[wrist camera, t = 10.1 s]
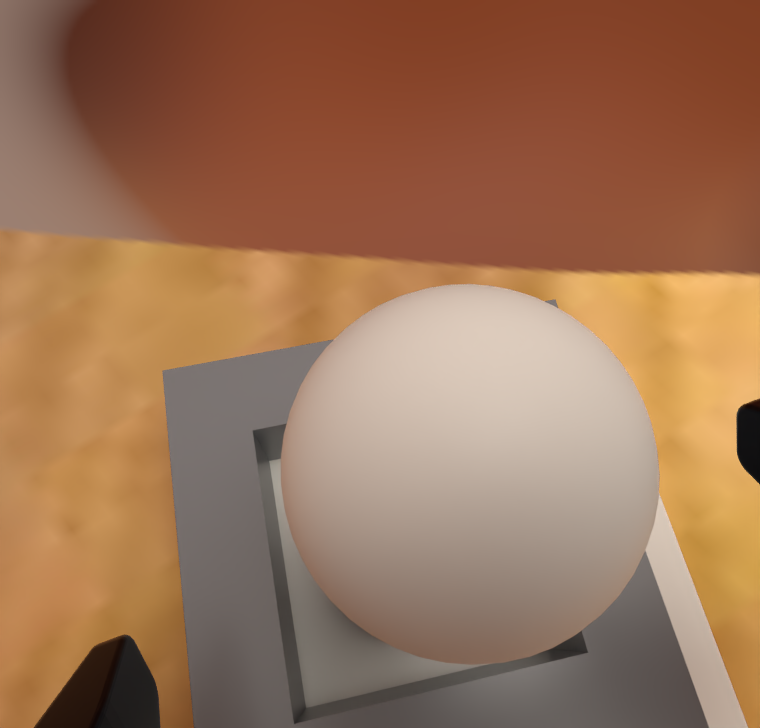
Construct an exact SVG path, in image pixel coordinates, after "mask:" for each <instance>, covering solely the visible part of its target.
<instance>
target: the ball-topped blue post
mask: <svg viewBox="0 0 760 728" xmlns="http://www.w3.org/2000/svg"><path fill="white" fill-rule="evenodd" d="M659 475H660V474H659V464H658V454H657V447H656V442H655V437H654V433H653V429H652V424H651V421H650V418H649V415H648V413H647V410H646V407H645V404H644V402H643V400H642V398H641V396H640V394H639V392H638V390H637V388H636V386H635V384H634V382H633V380H632V379H631V377H630V376H629V374H628V373H627V371H626V370H625V368H624V367H623V365H622V364H621V362H620V361H619V360H618V359H617V357H616V356H615V355H614V354H613V353H612V351H611V350H610V349H609V348H608V347H607V346H606V344H604V343H603V342H602V341H601V340H600V339H599V338H598V337H597V336H596V335H595V334H594V333H593V332H592V331H591V330H589V329H588V328H587V327H585V326H584V325H583V324H581V323H580V322H579V321H577V320H576V319H575V318H573V317H572V316H570V315H569V314H567V313H565V312H564V311H562V310H560V309H558V308H557V307H555V306H553V305H551V304H549V303H547V302H544V301H542V300H540V299H538V298H535V297H533V296H530V295H527V294H524V293H520V292H517V291H514V290H510V289H505V288H500V287H495V286H487V285H474V284H461V285H446V286H439V287H433V288H427V289H423V290H420V291H416V292H412V293H409V294H405V295H402V296H400V297H397V298H395V299H392V300H390V301H388V302H385V303H383V304H381V305H379V306H378V307H376V308H374V309H372V310H371V311H369V312H367V313H366V314H364V315H363V316H361V317H360V318H359V319H357V320H356V321H355V322H353V323H352V324H351V325H349V326H348V327H347V328H346V329H345V330H343V331H342V332H341V333H340V334H339V335H338V336H337V337H336V338H335V339H334V340H333V341H332V342H331V343H330V344H329V345H328V346H327V347H326V348H325V350H324V351H323V352H322V353H321V355H320V356H319V357H318V359H317V360H316V361H315V362H314V364H313V365H312V367H311V368H310V370H309V372H308V374H307V375H306V377H305V379H304V380H303V382H302V384H301V386H300V388H299V391H298V393H297V395H296V398H295V400H294V403H293V405H292V408H291V410H290V413H289V417H288V421H287V424H286V428H285V432H284V437H283V444H282V452H281V487H282V494H283V502H284V508H285V513H286V516H287V520H288V524H289V527H290V531H291V534H292V537H293V539H294V542H295V544H296V547H297V549H298V551H299V554H300V556H301V558H302V560H303V562H304V563H305V565H306V567H307V568H308V570H309V572H310V574H311V575H312V577H313V579H314V580H315V582H316V583H317V584H318V585H319V587H320V588H321V589H322V590H323V592H324V593H325V594H326V596H327V597H328V598H329V599H330V601H331V602H332V603H333V604H334V605H335V606H336V607H337V608H339V609H340V610H341V611H342V612H343V613H344V614H345V615H346V616H347V617H348V618H349V619H350V620H351V621H353V622H354V623H355V624H357V625H358V626H359V627H361V628H362V629H364V630H365V631H366V632H368V633H369V634H370V635H372V636H374V637H376V638H377V639H379V640H381V641H383V642H385V643H387V644H389V645H390V646H392V647H394V648H396V649H399V650H402V651H404V652H407V653H410V654H412V655H415V656H418V657H421V658H426V659H430V660H435V661H439V662H444V663H453V664H467V665H478V664H492V663H504V662H509V661H513V660H518V659H522V658H527V657H530V656H533V655H536V654H538V653H541V652H543V651H546V650H548V649H551V648H554V647H555V646H557V645H559V644H561V643H562V642H564V641H566V640H568V639H569V638H571V637H573V636H575V635H576V634H578V633H579V632H580V631H581V630H583V629H584V628H585V627H586V626H588V625H589V624H590V623H591V622H593V621H594V620H595V619H597V618H598V617H599V616H600V615H601V614H603V612H604V611H605V610H606V609H607V608H608V607H609V606H610V605H611V604H612V603H613V602H614V601H615V600H616V598H617V597H618V596H619V595H620V594H621V592H622V591H623V589H624V588H625V586H626V585H627V584H628V582H629V581H630V579H631V578H632V576H633V575H634V573H635V571H636V569H637V567H638V565H639V562H640V560H641V558H642V556H643V554H644V552H645V550H646V547H647V544H648V541H649V538H650V535H651V532H652V529H653V526H654V522H655V517H656V511H657V505H658V499H659Z"/></svg>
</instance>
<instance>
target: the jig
mask: <svg viewBox="0 0 760 728" xmlns="http://www.w3.org/2000/svg"><path fill="white" fill-rule="evenodd" d="M544 302H547V303H549V304H551V305H553V306H555V307H557V308H558V306H557V303H556V300H549V301H544ZM332 341H333V340H329V341H324V342H318V343H313V344H307V345H302V346H296V347H291V348H285V349H280V350H274V351H269V352H263V353H258V354H252V355H246V356H241V357H235V358H230V359H224V360H219V361H213V362H208V363H202V364H197V365H191V366H186V367H180V368H175V369H169V370H164V371H163V382H164V393H165V405H166V416H167V427H168V439H169V450H170V461H171V472H172V484H173V495H174V506H175V518H176V529H177V540H178V552H179V563H180V574H181V586H182V597H183V608H184V620H185V631H186V642H187V654H188V665H189V676H190V688H191V699H192V710H193V722H194V728H748V726H747V723H746V721H745V718H744V715H743V713H742V710H741V707H740V705H739V702H738V699H737V697H736V694H735V692H734V689H733V686H732V684H731V681H730V678H729V676H728V673H727V671H726V668H725V665H724V663H723V660H722V657H721V655H720V652H719V649H718V647H717V644H716V642H715V639H714V636H713V634H712V631H711V628H710V626H709V623H708V621H707V618H706V615H705V613H704V610H703V607H702V605H701V602H700V599H699V597H698V594H697V592H696V589H695V586H694V584H693V581H692V578H691V576H690V573H689V571H688V568H687V565H686V563H685V560H684V557H683V555H682V552H681V550H680V547H679V544H678V542H677V539H676V536H675V534H674V531H673V528H672V526H671V523H670V521H669V518H668V515H667V513H666V510H665V507H664V505H663V502H662V500H661V497H660V494H659V499H658V505H657V511H656V517H655V522H654V526H653V529H652V532H651V535H650V538H649V541H648V544H647V547H646V550H645V552H644V554H643V556H642V558H641V560H640V562H639V565H638V567H637V569H636V571H635V573H634V575H633V576H632V578H631V579H630V581H629V582H628V584H627V585H626V586H625V588H624V589H623V591H622V592H621V594H620V595H619V596H618V597H617V598H616V600H615V601H614V602H613V603H612V604H611V605H610V606H609V607H608V608H607V609H606V610H605V611H604V612H603V614H601V615H600V616H599V617H598V618H597V619H595V620H594V621H593V622H591V623H590V624H589V625H588V626H586V627H585V628H584V629H583V630H581V631H580V632H579V633H578V634H576V635H575V636H573V637H571V638H569V639H568V640H566V641H564V642H562V643H561V644H559V645H557V646H555V647H554V648H551V649H548V650H546V651H543V652H541V653H538V654H536V655H533V656H530V657H527V658H522V659H518V660H513V661H509V662H504V663H492V664H478V665H467V664H453V663H444V662H439V661H435V660H430V659H426V658H421V657H418V656H415V655H412V654H410V653H407V652H404V651H402V650H399V649H396V648H394V647H392V646H390V645H389V644H387V643H385V642H383V641H381V640H379V639H377V638H376V637H374V636H372V635H370V634H369V633H368V632H366V631H365V630H364V629H362V628H361V627H359V626H358V625H357V624H355V623H354V622H353V621H351V620H350V619H349V618H348V617H347V616H346V615H345V614H344V613H343V612H342V611H341V610H340V609H339V608H337V607H336V606H335V605H334V604H333V603H332V602H331V601H330V599H329V598H328V597H327V596H326V594H325V593H324V592H323V590H322V589H321V588H320V587H319V585H318V584H317V583H316V582H315V580H314V579H313V577H312V575H311V574H310V572H309V570H308V568H307V567H306V565H305V563H304V562H303V560H302V558H301V556H300V554H299V551H298V549H297V547H296V544H295V542H294V539H293V537H292V534H291V531H290V527H289V524H288V520H287V516H286V513H285V508H284V502H283V494H282V487H281V452H282V444H283V437H284V432H285V428H286V424H287V421H288V417H289V413H290V410H291V408H292V405H293V403H294V400H295V398H296V395H297V393H298V391H299V388H300V386H301V384H302V382H303V380H304V379H305V377H306V375H307V374H308V372H309V370H310V368H311V367H312V365H313V364H314V362H315V361H316V360H317V359H318V357H319V356H320V355H321V353H322V352H323V351H324V350H325V348H326V347H327V346H328V345H329V344H330V343H331V342H332Z"/></svg>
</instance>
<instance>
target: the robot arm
mask: <svg viewBox="0 0 760 728" xmlns="http://www.w3.org/2000/svg"><path fill="white" fill-rule="evenodd" d="M736 418H737V455H738V459H739V461H740V463H741V465H742V466H743V468H744V469H745V470H746V471H747V472H748V473H749V474H750V475H751V476H752V477H753V478H754V479H755V480H756V481H757V482H758V483H759V484H760V399H757V400H754V401H752V402H749V403H746V404H744V405H742V406H741V407H740V408H739V409H738V412H737V417H736ZM34 728H160V714H159V699H158V691H157V687H156V683H155V680H154V678H153V676H152V674H151V672H150V670H149V668H148V666H147V664H146V662H145V660H144V659H143V657H142V655H141V653H140V651H139V649H138V647H137V645H136V643H135V642H134V640H133V639H132V638H131V637H130V636H128V635H121V636H118V637H116V638H113V639H110V640H107V641H105V642H102V643H99V644H97V645H96V646H94V647H93V649H92V650H91V651H90V652H89V654H88V655H87V656H86V658H85V659H84V660H83V662H82V663H81V664H80V666H79V667H78V668H77V670H76V671H75V673H74V674H73V675H72V677H71V678H70V679H69V681H68V682H67V683H66V685H65V686H64V687H63V689H62V690H61V692H60V693H59V694H58V696H57V697H56V698H55V700H54V701H53V702H52V704H51V705H50V706H49V708H48V709H47V710H46V712H45V713H44V715H43V716H42V717H41V719H40V720H39V721H38V723H37V724H36V725H35V727H34Z"/></svg>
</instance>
